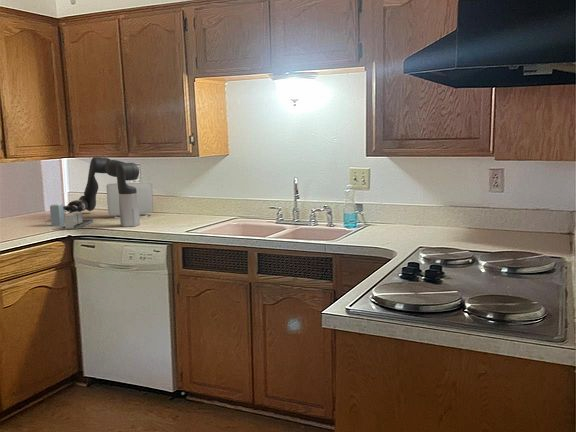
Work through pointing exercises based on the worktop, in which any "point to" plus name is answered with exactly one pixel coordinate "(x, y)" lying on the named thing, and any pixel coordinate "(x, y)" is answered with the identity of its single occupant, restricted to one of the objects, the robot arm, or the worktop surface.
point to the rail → (75, 221)
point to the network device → (142, 198)
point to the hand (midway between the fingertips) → (65, 210)
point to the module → (57, 214)
